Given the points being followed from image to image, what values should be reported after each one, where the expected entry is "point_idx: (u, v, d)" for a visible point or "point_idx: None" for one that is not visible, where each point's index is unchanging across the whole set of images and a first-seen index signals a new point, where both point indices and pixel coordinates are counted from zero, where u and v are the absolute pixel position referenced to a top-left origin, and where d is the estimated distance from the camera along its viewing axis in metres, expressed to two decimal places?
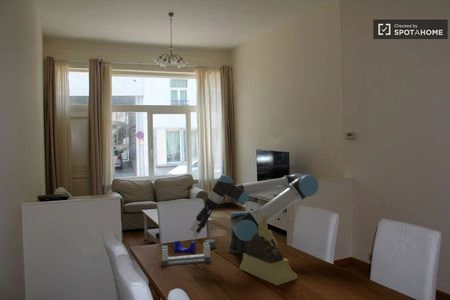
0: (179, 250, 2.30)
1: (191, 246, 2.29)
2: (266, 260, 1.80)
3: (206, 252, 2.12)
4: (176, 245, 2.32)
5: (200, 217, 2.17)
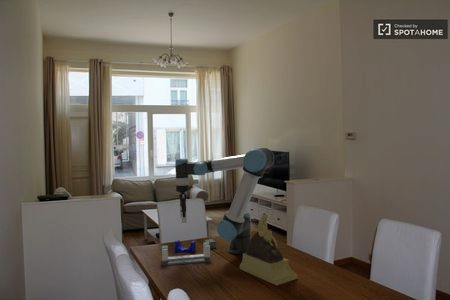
0: (179, 250, 2.30)
1: (191, 246, 2.29)
2: (266, 260, 1.80)
3: (206, 252, 2.12)
4: (176, 245, 2.32)
5: None
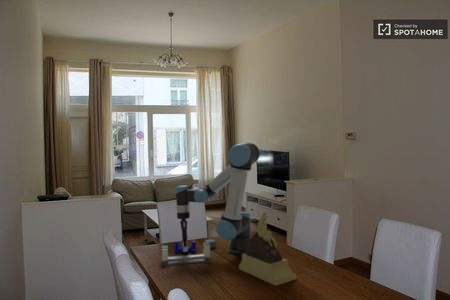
0: (180, 250, 2.29)
1: (192, 246, 2.29)
2: (265, 260, 1.80)
3: (206, 252, 2.12)
4: (176, 246, 2.30)
5: None
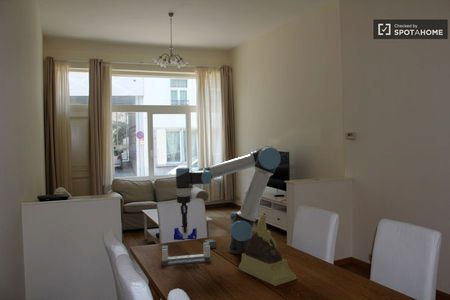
0: (180, 237, 2.13)
1: (193, 232, 2.13)
2: (265, 260, 1.79)
3: (206, 252, 2.12)
4: (176, 232, 2.15)
5: None
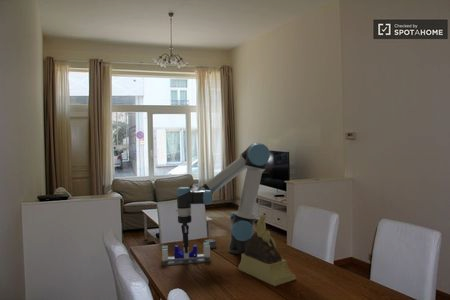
0: (180, 255, 2.12)
1: (194, 250, 2.13)
2: (264, 261, 1.79)
3: (206, 252, 2.12)
4: (176, 250, 2.14)
5: None
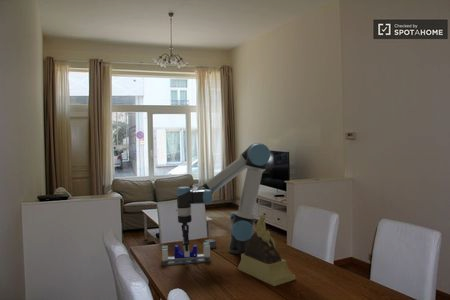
0: (180, 255, 2.12)
1: (194, 250, 2.13)
2: (264, 261, 1.79)
3: (206, 252, 2.12)
4: (176, 250, 2.14)
5: None
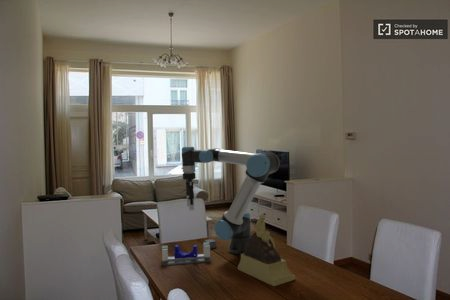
0: (180, 255, 2.12)
1: (194, 250, 2.12)
2: (263, 261, 1.79)
3: (206, 252, 2.12)
4: (176, 250, 2.14)
5: (188, 191, 2.36)
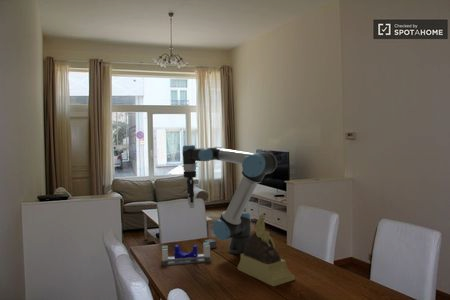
0: (180, 255, 2.12)
1: (194, 250, 2.12)
2: (263, 261, 1.79)
3: (206, 252, 2.12)
4: (176, 250, 2.14)
5: None
